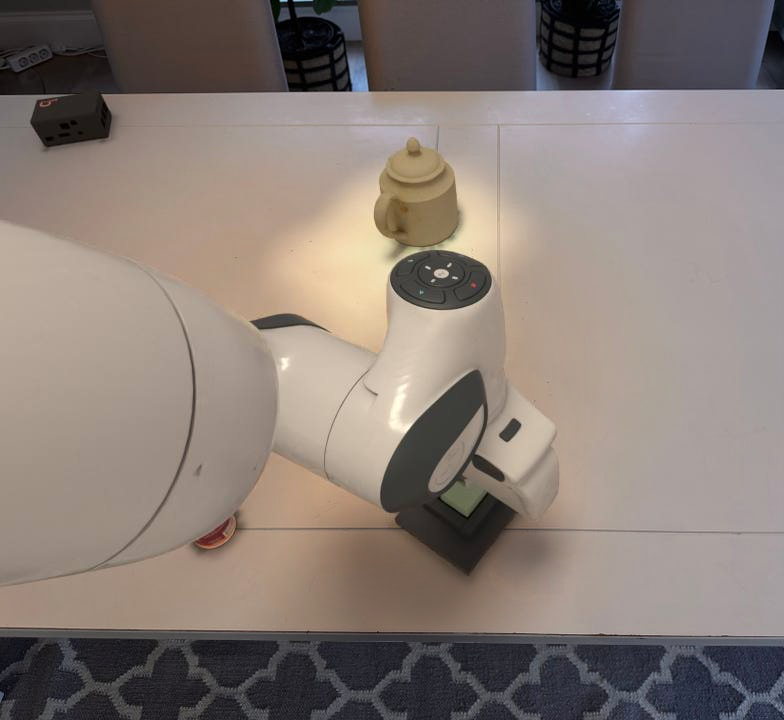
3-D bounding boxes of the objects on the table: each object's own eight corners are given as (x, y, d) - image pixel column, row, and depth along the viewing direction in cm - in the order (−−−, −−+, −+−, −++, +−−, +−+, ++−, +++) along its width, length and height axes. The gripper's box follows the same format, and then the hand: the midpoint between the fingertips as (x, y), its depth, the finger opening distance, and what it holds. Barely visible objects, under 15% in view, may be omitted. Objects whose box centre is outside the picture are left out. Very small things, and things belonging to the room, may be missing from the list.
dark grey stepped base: (468, 576, 70) (467, 565, 67) (395, 522, 74) (392, 511, 71) (533, 490, 75) (534, 478, 73) (462, 445, 79) (461, 432, 77)
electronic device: (108, 138, 120) (94, 112, 116) (45, 147, 118) (29, 122, 114) (112, 115, 124) (99, 89, 120) (51, 124, 123) (36, 99, 119)
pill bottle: (185, 527, 74) (153, 493, 67) (223, 500, 76) (196, 464, 69) (205, 558, 72) (174, 526, 65) (244, 530, 74) (218, 496, 67)
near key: (467, 518, 71) (466, 510, 69) (440, 499, 72) (439, 492, 71) (487, 492, 73) (487, 485, 71) (461, 475, 74) (460, 467, 73)
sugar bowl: (456, 265, 98) (449, 180, 86) (380, 266, 98) (363, 182, 86) (459, 198, 107) (453, 113, 95) (390, 199, 107) (375, 115, 95)
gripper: (343, 370, 61) (368, 447, 72) (531, 492, 53) (527, 558, 64) (389, 327, 64) (407, 407, 75) (574, 436, 56) (563, 508, 67)
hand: (463, 477), depth 69 cm, fingers closed
